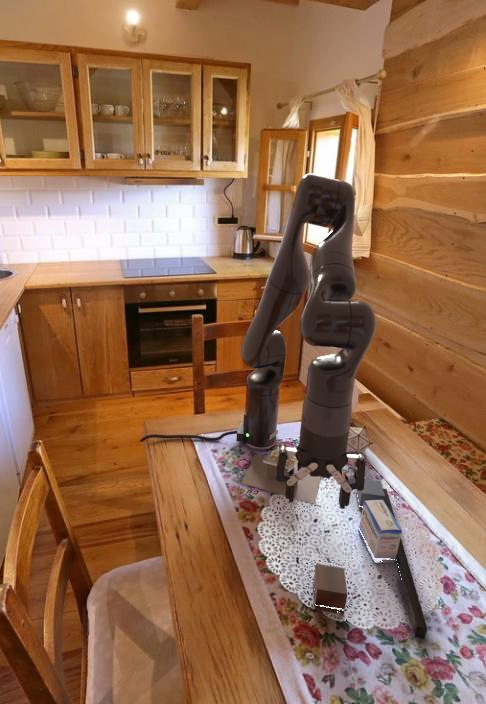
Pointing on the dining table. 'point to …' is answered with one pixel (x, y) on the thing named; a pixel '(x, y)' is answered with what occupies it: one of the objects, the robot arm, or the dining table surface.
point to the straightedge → (408, 586)
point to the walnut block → (329, 588)
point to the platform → (265, 478)
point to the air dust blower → (354, 398)
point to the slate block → (370, 492)
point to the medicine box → (380, 530)
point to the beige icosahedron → (357, 440)
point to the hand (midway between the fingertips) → (315, 502)
